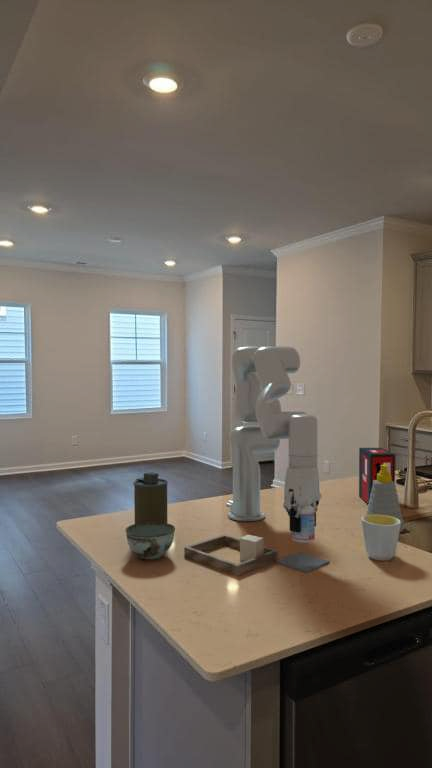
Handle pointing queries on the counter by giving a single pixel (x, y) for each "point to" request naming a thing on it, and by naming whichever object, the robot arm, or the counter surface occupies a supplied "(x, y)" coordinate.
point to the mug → (380, 536)
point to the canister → (150, 499)
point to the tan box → (251, 547)
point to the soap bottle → (384, 497)
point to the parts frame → (236, 569)
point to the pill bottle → (306, 524)
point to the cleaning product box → (373, 468)
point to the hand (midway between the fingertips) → (302, 528)
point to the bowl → (150, 539)
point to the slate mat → (302, 562)
